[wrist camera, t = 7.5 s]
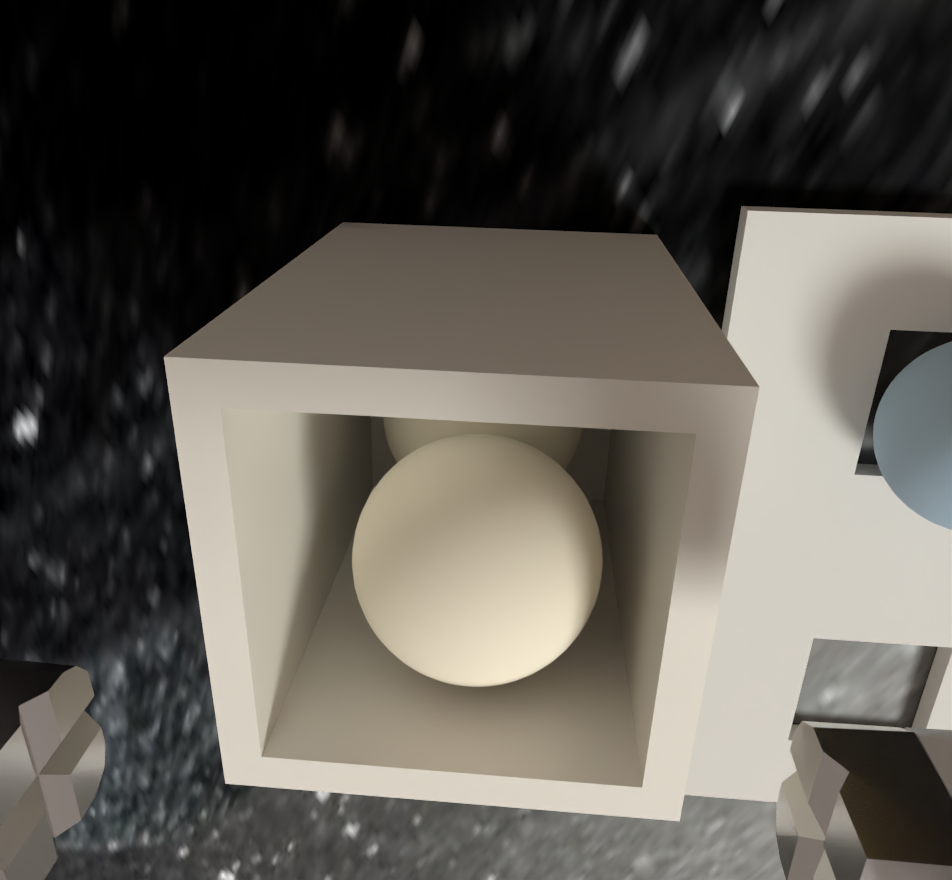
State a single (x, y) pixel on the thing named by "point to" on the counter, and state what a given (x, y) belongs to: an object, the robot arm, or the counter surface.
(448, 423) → the tube ball
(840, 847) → the robot arm
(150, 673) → the counter surface
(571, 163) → the counter surface
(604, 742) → the tube
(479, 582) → the cream ball
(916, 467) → the blue ball
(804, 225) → the board
